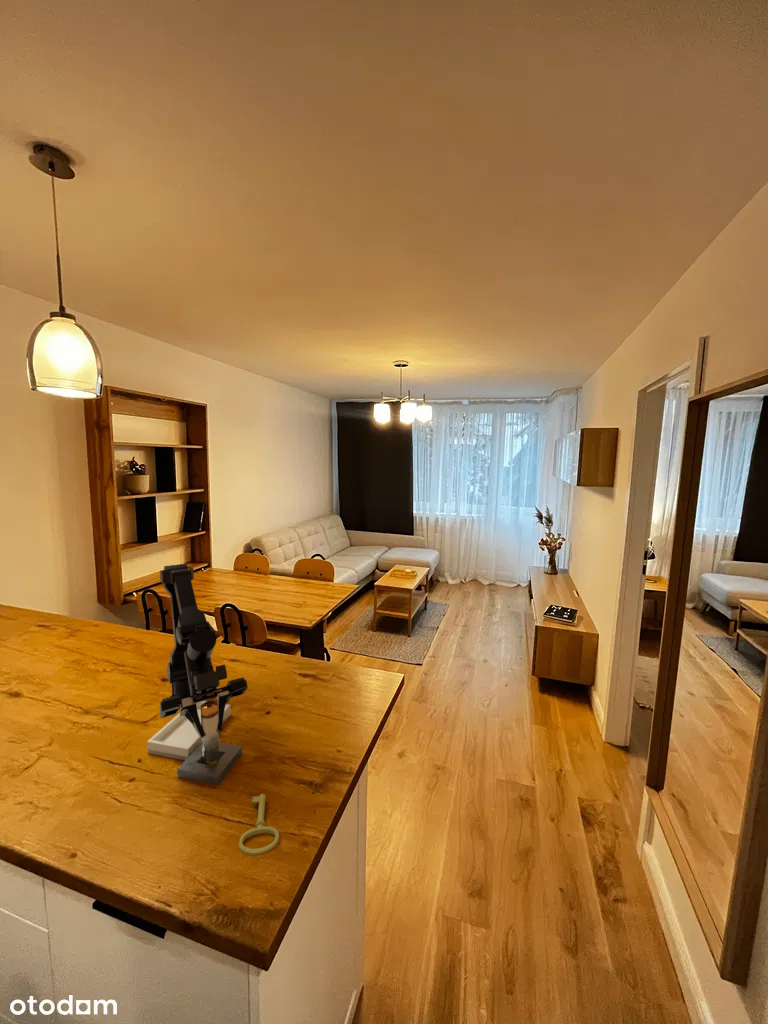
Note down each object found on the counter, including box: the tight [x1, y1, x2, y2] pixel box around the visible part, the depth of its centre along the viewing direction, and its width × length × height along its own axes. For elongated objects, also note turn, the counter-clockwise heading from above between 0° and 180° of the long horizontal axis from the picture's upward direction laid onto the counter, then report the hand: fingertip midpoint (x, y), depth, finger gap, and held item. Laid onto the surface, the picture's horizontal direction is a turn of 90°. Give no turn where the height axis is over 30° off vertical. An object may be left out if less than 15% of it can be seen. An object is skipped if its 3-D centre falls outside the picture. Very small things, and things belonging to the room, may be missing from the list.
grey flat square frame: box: [176, 741, 243, 786], centre depth 98 cm, size 10×10×2 cm
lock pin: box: [201, 700, 220, 764], centre depth 97 cm, size 4×4×13 cm
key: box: [238, 793, 280, 856], centre depth 82 cm, size 7×12×2 cm, turn 31°
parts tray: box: [146, 700, 232, 761], centre depth 109 cm, size 11×18×3 cm, turn 168°
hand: (211, 734), depth 96 cm, fingers closed on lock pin, 4 cm apart
